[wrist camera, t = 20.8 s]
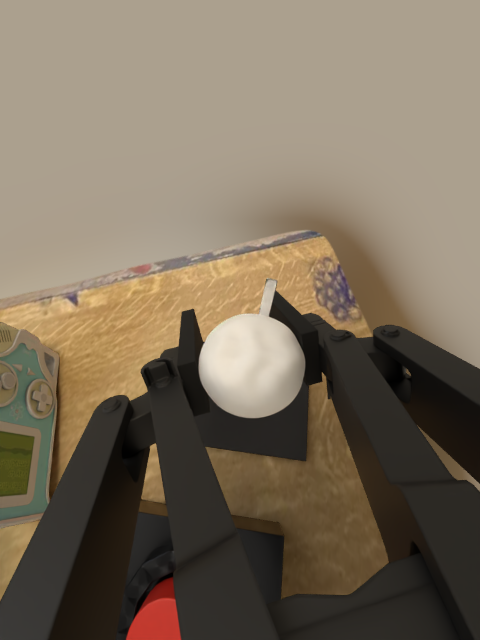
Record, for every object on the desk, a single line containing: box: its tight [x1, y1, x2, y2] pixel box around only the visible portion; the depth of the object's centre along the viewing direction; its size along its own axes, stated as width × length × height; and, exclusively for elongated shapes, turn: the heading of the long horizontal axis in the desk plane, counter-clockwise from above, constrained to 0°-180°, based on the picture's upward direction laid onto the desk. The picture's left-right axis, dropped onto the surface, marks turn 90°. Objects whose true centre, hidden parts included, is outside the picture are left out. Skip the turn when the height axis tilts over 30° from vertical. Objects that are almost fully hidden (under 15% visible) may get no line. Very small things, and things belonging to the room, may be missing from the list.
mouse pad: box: [191, 342, 309, 461], centre depth 27 cm, size 12×10×1 cm
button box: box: [115, 500, 284, 640], centre depth 19 cm, size 14×10×5 cm
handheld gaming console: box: [0, 322, 59, 528], centre depth 22 cm, size 11×3×15 cm
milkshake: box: [198, 278, 305, 418], centre depth 15 cm, size 4×5×10 cm
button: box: [126, 577, 181, 640], centre depth 16 cm, size 4×4×2 cm
